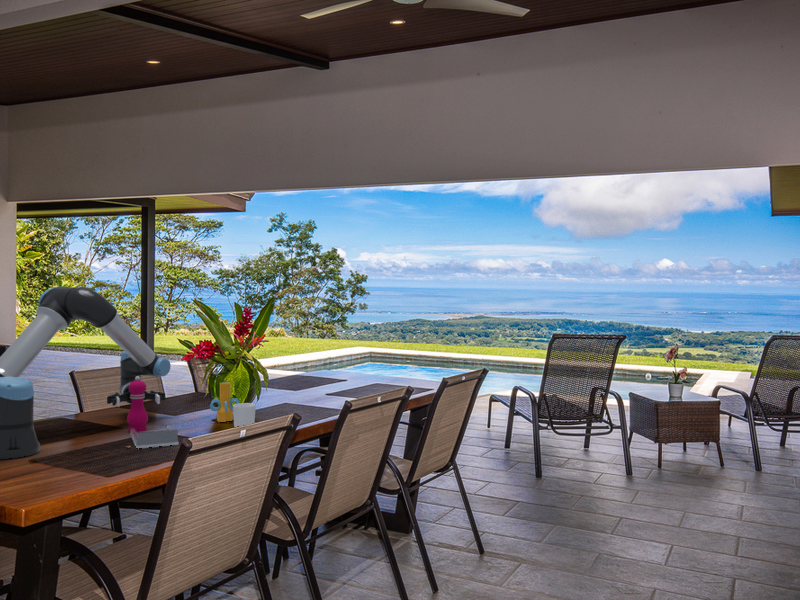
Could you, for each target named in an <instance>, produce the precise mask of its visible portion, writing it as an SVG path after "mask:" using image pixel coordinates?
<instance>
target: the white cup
mask: <svg viewBox="0 0 800 600" xmlns="http://www.w3.org/2000/svg"><path fill="white" fill-rule="evenodd" d="M232 407H233V426H234V427H237V426H243V425H249V424H252V423H254V424H255V423H256V422H255V420H256V404H255V403H252V402H251V403H250V402H242V403H240V402H239V404H237V403H235V404H233V405H232Z"/></svg>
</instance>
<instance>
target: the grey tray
mask: <svg viewBox="0 0 800 600" xmlns="http://www.w3.org/2000/svg"><path fill="white" fill-rule="evenodd" d="M129 433H130V435H129V436H130V437H131V440H132V442H133V444H134V447H135V446H136V447H135V449H136V448H138V449H137V450H139V448H142V449H150V448H149V447H152V448H159V446H162V447H169V446H170V445H172V446H179V440H178V438H179V435H178V434H179V433H178V429H177V428H172V426H170V425H169V424H168V425H165V428H164V429H154V430H147V431H140V432H136V431H135V429H134V428H132V429H131V432H129Z"/></svg>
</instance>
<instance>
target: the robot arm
mask: <svg viewBox="0 0 800 600" xmlns="http://www.w3.org/2000/svg"><path fill="white" fill-rule="evenodd" d="M35 310H36V316H35V318H33V320H32V321H30V323H29V324H28V325H27V326H26V327H25V328H24V330H23V331H22V332H21V333H20V334H19V335H18V337H16V339H15V340H14V341H13V343H11V344H10V345H9V346H8V348H7V349H6V350H5V351H4V352H3V353H2V354H1V355H0V460H8V459H9V458H12V459H17V458H19V457H20V458H25V457H29V456H32V455H36V454H38V453H39V452H41V444H40V441H38V437H37V434H36V430H35V428H34V405H35V404H34V403H35V402H34V401H35V400H34V398H35V397H34V395H35V392H34V385H33V381H31V380H30V379H28V378H25V377H22V374H23V373H24V372H25V371H26V370H27V368H28V367H29V366H30V365H31V364H32V363H33V361H35V359H36V358H37V357H38V355H39V354H40V353H41V352H42V351H43V350H44V349H45V347H46V346H47V345H48V343H49V342H50V341H51V340H52V339H53V338H54V336H55V335H56V334H57V333H58V332H59V331H60V330H61V331H62V330H63V331H64V330H66V329H67V328H68V327H69V326H70V324H71V323H72V322H73V321H76V320H80V321H85V322H86V323H87V322H88V323H90V324H91V325H92V326H93V327H94V328H96V329H100V330H102V331H103V332H104V334H106V335H107V336H108V337H109V338H110V339H111V340H112V341H113V342H114V343H115V344H116V345H117V346H118V347H120V349H122V350H123V351H121V353H120V361H119V363H120V381H119V382H120V383H119V384H120V385H119V392H115V393H112V394H111V395H108V396H106V404H107V405H110V404H112V406H113V407H115V406H117V408H120V406H121V405H120V403H122V402H126V403H127V404H130V405H132V400H131V398H130V394H131V392H130V391H129V384H130V383H131V382H133V381H136V380H135V377H136V376H139V377H140V380H141V376H146V377H156V378H158V377H166V376H167V375H168V374H169V373H170V370H171V366H172V365H171V362H170V360H169V359H168V358H166V357H162V356H159V355H158V354H157V353H156V352H155V351H153V349H152V348H151V347H149V345H148V344H147V343H146V342H145V341H144V340H143V339H142V338H141V337H140V336H139V335H138V334H137V333H136V332H135V331H134V330H133V328H131V326H129V325H128V324H127V322H126V321H125V320H124V319H123V318H122V317H121V316H120V315H119V314H118V309H117V308H116V307H115V306H114V305H113V304H112V303H111V302H110V301H109V300H108V299H106V297H104V296H103V295H102V294H100V293H99V292H97V291H96V290H93V289H91V288H89V287H83V286H79V287H78V286H75V287H74V286H56V287H51V288H48V289H46V290H44V292H43V293H41V294H40V297H39V299H38V306H37V308H36V309H35ZM141 381H142V380H141ZM144 394H145V398H144V400H143V402H144V401H155V403H156V404H157V405H159V404H161V401H165V400H166V393H165V392H161V391H154V390H149V391H148V392H147V390H145V392H144ZM24 456H25V457H24ZM9 460H10V459H9Z"/></svg>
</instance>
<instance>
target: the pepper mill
mask: <svg viewBox="0 0 800 600" xmlns="http://www.w3.org/2000/svg"><path fill="white" fill-rule="evenodd" d="M135 380H136V381H133V382H131V383H130V384H129V391H130V392H131V394H130V398H131V400H132V404H131V406H130V409H129V411H128V413H127V416H126V423H127V424H128V425H129V426H128V427H127V432H128V433H130V432H131V429H132V428H134V429H135V431H136V432H140V431H148V429H147V428H148V426H147V425H146V424H147V423H148V421H149V415H148V413H147V410H146V408H145V405H144V404H145V403H144V401H145V400H144V398H145V394H144V392H145V391H147V384H146V382H144V381H143V380H140V377H139V376H136V377H135ZM143 400H144V401H143Z"/></svg>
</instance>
